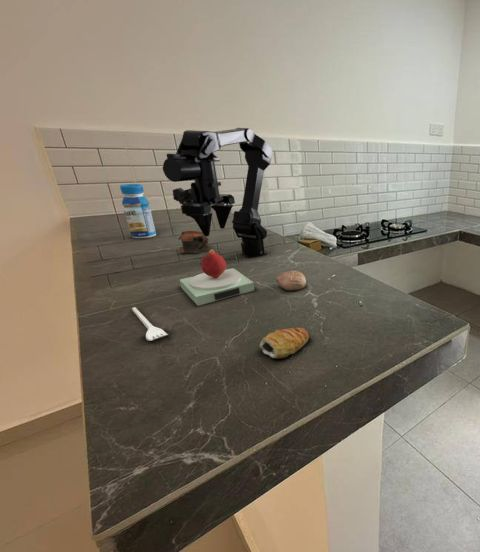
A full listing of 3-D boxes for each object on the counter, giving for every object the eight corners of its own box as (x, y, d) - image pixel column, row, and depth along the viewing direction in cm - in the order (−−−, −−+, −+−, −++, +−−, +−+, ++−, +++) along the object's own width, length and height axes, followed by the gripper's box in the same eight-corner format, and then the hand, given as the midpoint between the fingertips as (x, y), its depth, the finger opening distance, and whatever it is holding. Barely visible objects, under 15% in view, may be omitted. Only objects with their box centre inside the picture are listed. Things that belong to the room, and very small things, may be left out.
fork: (142, 308, 77) (140, 301, 76) (172, 341, 66) (170, 333, 65) (125, 312, 75) (123, 305, 74) (153, 347, 63) (151, 339, 63)
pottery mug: (171, 254, 113) (172, 231, 115) (196, 258, 122) (196, 237, 124) (197, 250, 110) (197, 226, 111) (220, 254, 119) (221, 233, 120)
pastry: (295, 331, 71) (294, 316, 70) (316, 342, 68) (316, 327, 66) (257, 351, 64) (254, 334, 62) (278, 364, 60) (276, 347, 59)
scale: (234, 275, 98) (232, 265, 97) (255, 291, 89) (253, 280, 87) (181, 287, 88) (178, 276, 87) (198, 306, 79) (195, 294, 78)
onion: (217, 283, 84) (212, 254, 81) (198, 280, 85) (192, 252, 82) (232, 275, 90) (228, 248, 87) (214, 273, 91) (209, 245, 88)
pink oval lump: (269, 286, 92) (280, 288, 86) (274, 265, 93) (286, 266, 87) (293, 292, 97) (305, 294, 91) (298, 272, 98) (311, 273, 92)
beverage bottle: (161, 236, 131) (149, 185, 124) (136, 240, 125) (122, 187, 117) (151, 232, 135) (139, 183, 128) (127, 236, 129) (112, 184, 121)
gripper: (195, 174, 100) (204, 223, 106) (154, 180, 83) (167, 239, 89) (231, 176, 100) (238, 225, 106) (198, 182, 83) (208, 241, 89)
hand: (214, 232), depth 98 cm, fingers open, 9 cm apart
